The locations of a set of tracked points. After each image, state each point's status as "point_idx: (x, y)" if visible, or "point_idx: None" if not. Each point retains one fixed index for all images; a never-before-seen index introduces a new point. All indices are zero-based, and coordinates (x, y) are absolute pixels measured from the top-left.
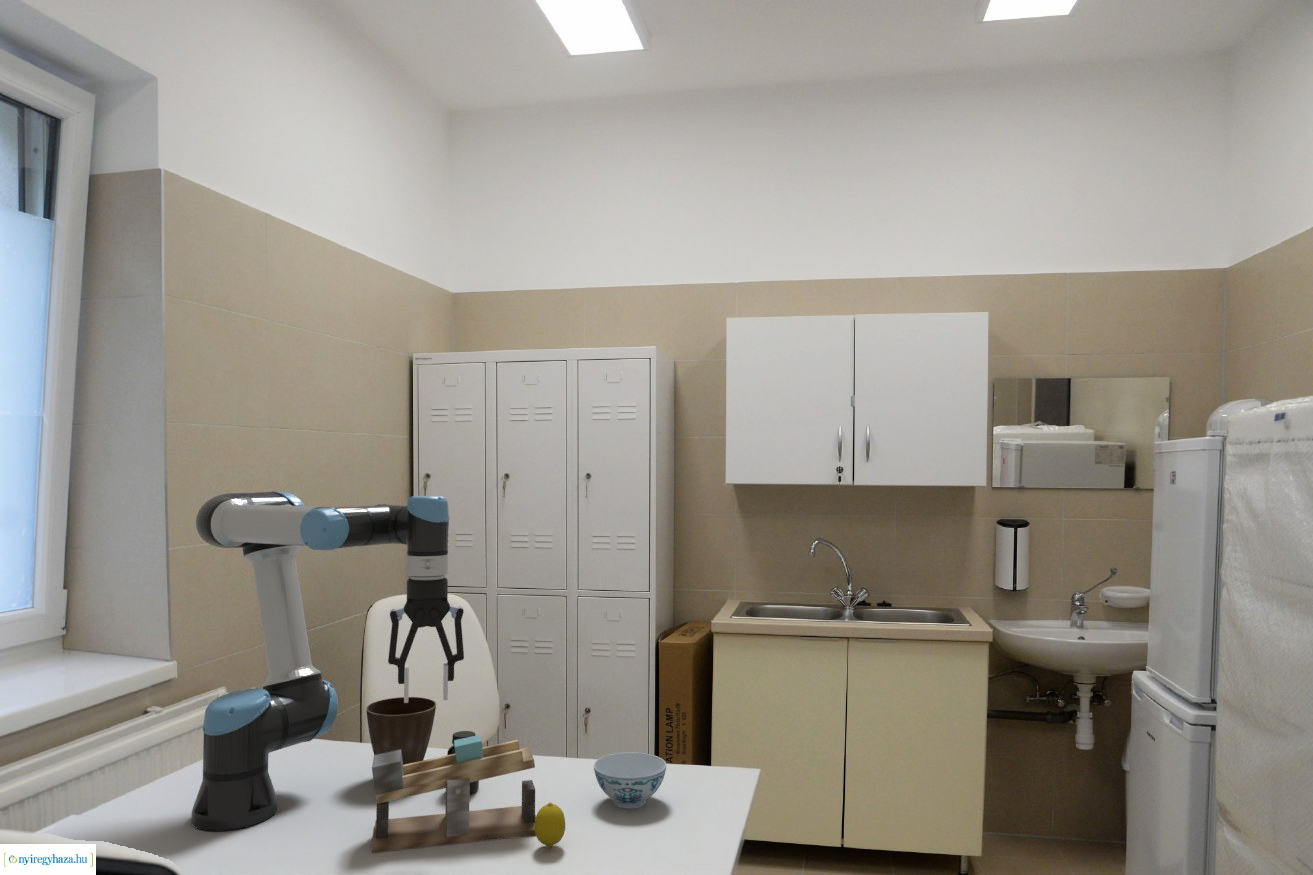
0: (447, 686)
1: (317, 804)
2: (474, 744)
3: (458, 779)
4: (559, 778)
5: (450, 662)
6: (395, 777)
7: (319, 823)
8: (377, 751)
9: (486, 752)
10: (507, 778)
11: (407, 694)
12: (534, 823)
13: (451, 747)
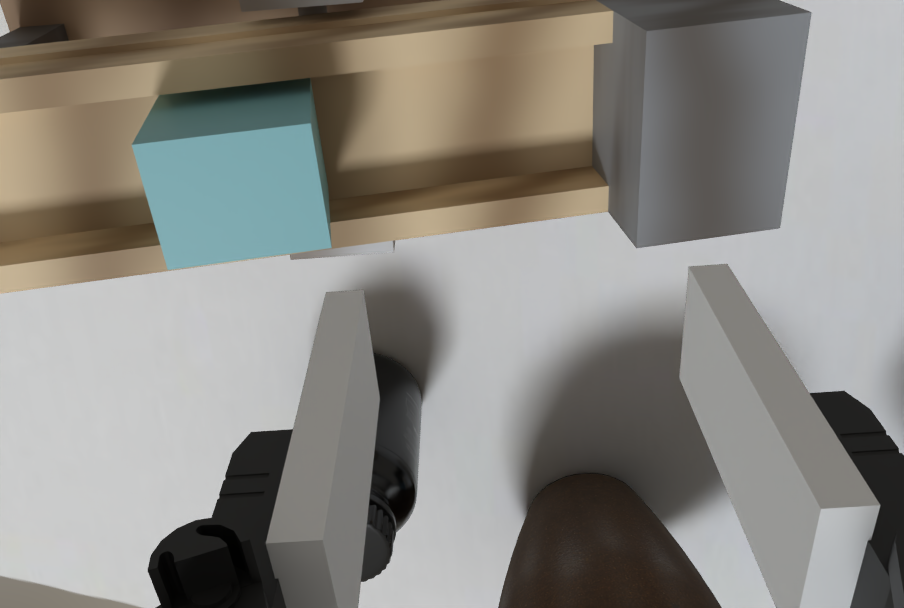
0: (310, 363)
1: (856, 360)
2: (182, 133)
3: (301, 2)
4: (29, 443)
5: (212, 552)
6: (652, 8)
7: (862, 205)
8: (687, 559)
9: None
10: (218, 467)
11: (718, 305)
12: (18, 10)
13: (398, 505)
